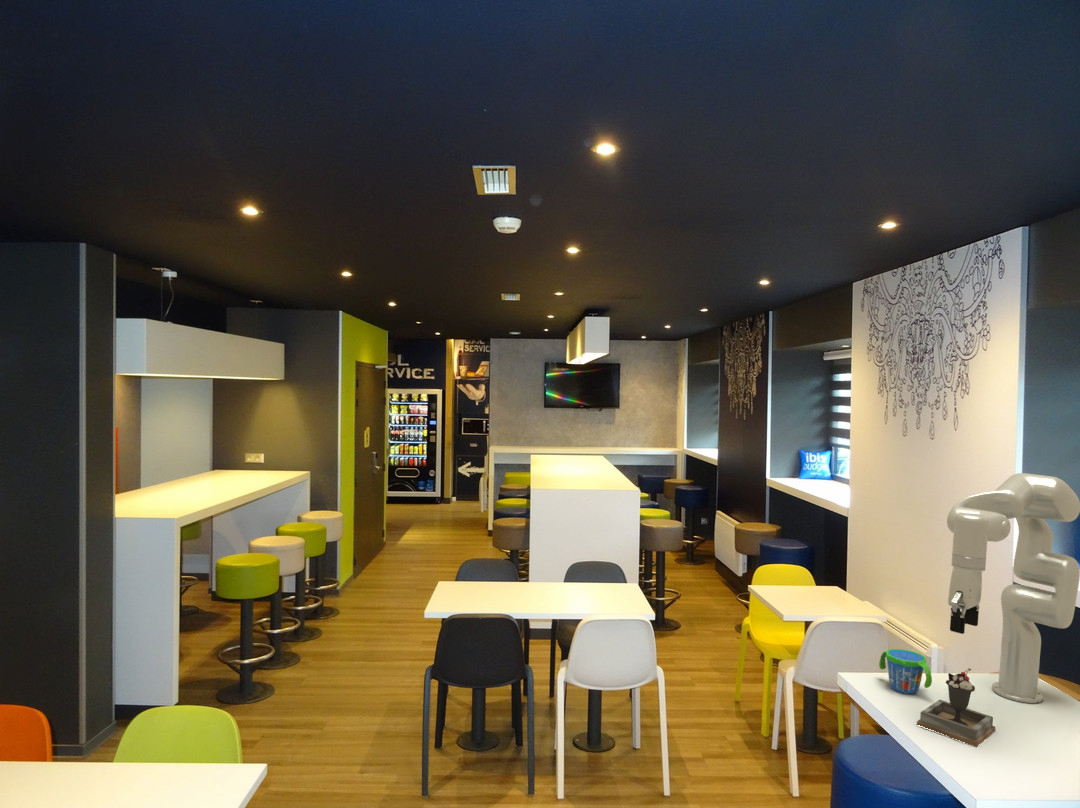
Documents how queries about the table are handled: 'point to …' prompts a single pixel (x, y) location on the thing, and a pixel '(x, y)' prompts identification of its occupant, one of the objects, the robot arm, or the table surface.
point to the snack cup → (905, 670)
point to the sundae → (959, 693)
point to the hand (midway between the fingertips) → (963, 628)
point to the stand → (971, 734)
